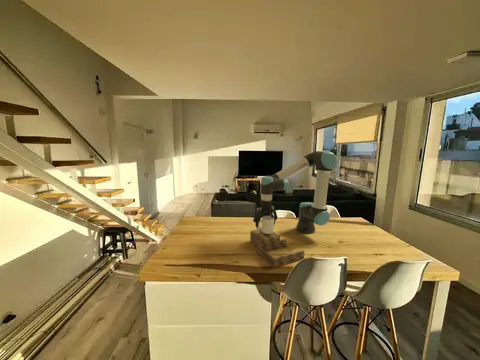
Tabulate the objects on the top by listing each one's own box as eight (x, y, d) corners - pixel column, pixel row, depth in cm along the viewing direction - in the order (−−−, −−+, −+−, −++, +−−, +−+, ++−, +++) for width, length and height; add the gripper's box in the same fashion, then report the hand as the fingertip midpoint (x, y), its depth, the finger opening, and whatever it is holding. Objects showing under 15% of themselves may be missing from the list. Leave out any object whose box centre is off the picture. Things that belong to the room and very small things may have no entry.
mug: (257, 234, 145) (257, 220, 144) (255, 229, 153) (255, 215, 152) (274, 234, 146) (275, 219, 145) (271, 229, 155) (272, 215, 153)
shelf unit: (272, 236, 164) (272, 226, 163) (304, 258, 134) (304, 246, 132) (245, 242, 154) (245, 231, 153) (272, 267, 124) (273, 254, 122)
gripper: (277, 196, 155) (276, 225, 158) (248, 200, 144) (247, 231, 148) (283, 199, 148) (282, 229, 152) (253, 202, 138) (253, 235, 141)
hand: (265, 230), depth 150 cm, fingers closed on mug, 11 cm apart
